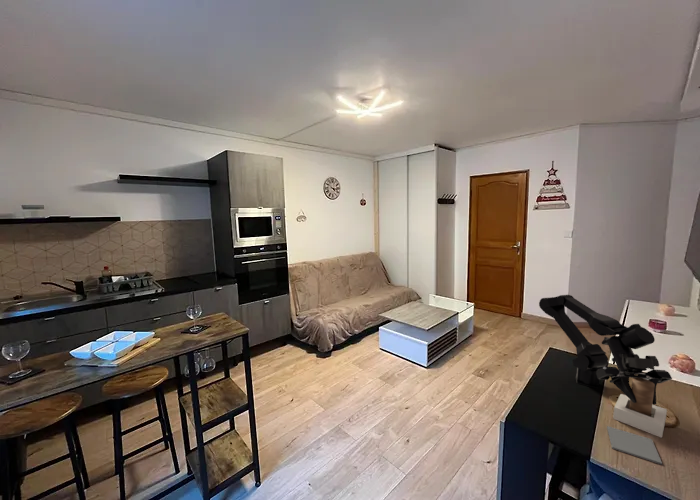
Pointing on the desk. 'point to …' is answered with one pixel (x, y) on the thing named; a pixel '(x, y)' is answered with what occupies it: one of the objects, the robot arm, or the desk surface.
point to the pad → (633, 444)
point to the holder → (640, 417)
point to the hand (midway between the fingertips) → (644, 403)
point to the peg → (642, 396)
